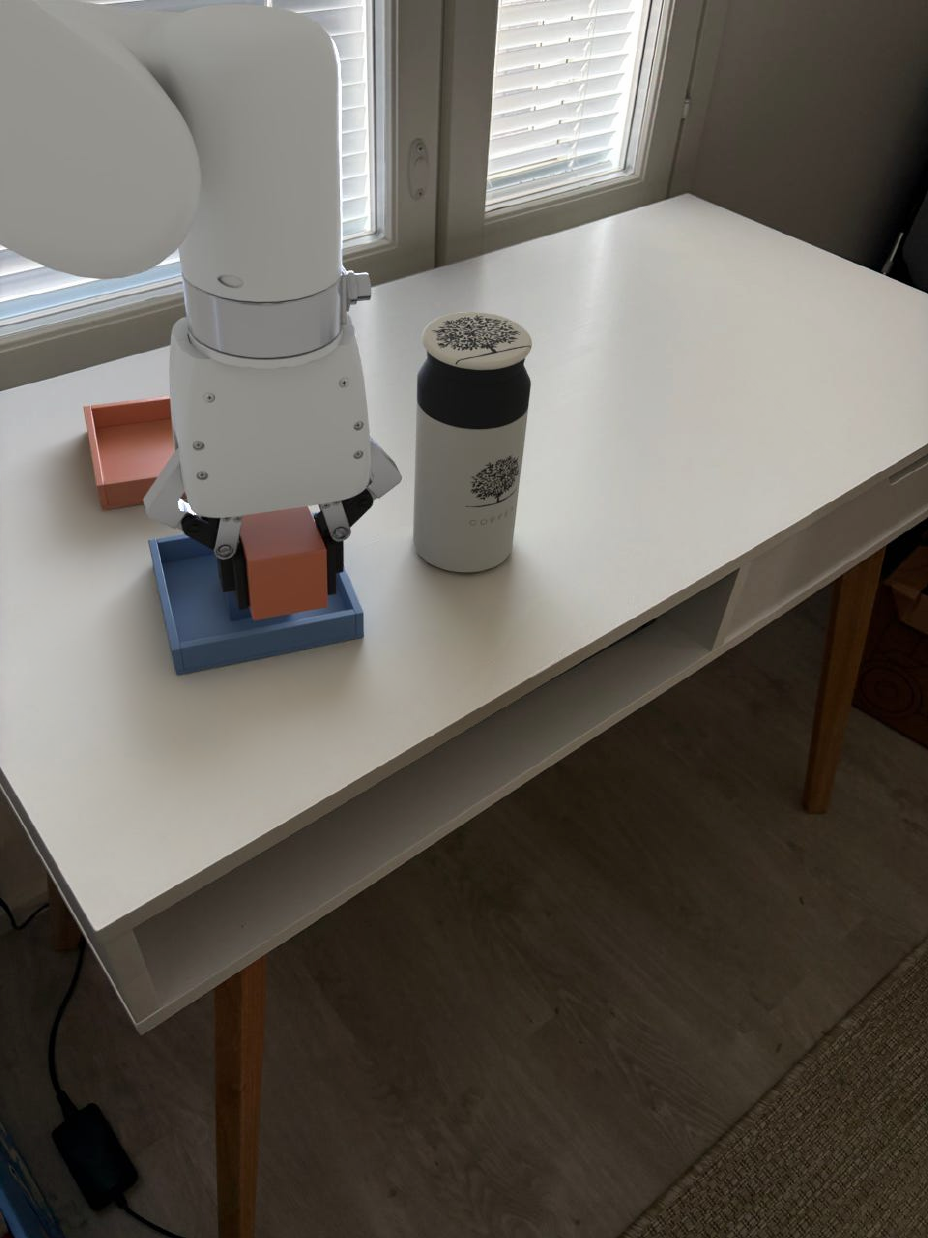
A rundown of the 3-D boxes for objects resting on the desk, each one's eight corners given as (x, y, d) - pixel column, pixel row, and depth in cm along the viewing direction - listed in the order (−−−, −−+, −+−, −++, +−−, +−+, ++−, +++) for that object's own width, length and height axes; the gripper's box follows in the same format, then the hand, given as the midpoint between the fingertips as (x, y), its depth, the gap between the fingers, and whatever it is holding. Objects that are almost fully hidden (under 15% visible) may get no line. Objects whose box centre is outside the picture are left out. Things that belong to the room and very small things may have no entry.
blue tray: (176, 676, 69) (171, 650, 67) (152, 564, 77) (147, 539, 75) (364, 637, 72) (363, 612, 71) (322, 534, 80) (321, 510, 79)
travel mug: (400, 521, 82) (403, 315, 70) (491, 506, 84) (510, 303, 72) (430, 583, 77) (439, 372, 65) (527, 565, 79) (553, 357, 67)
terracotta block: (253, 621, 59) (247, 562, 56) (238, 573, 62) (233, 514, 59) (328, 607, 61) (326, 549, 58) (310, 561, 64) (308, 503, 61)
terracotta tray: (101, 510, 81) (96, 486, 80) (88, 429, 89) (83, 406, 88) (265, 484, 85) (263, 461, 83) (238, 409, 93) (235, 386, 91)
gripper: (408, 259, 54) (397, 530, 66) (76, 285, 49) (131, 572, 61) (454, 324, 49) (433, 603, 61) (89, 359, 44) (147, 656, 56)
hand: (282, 585), depth 61 cm, fingers closed on terracotta block, 4 cm apart
